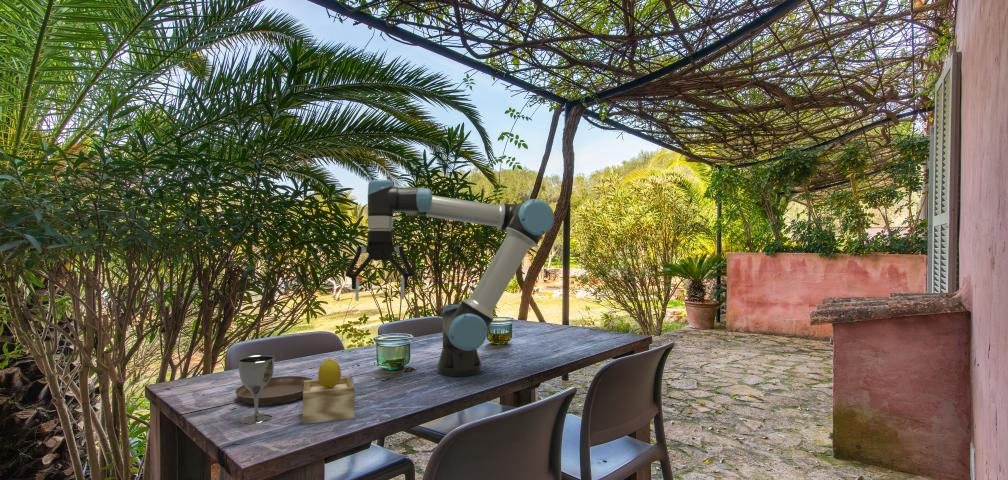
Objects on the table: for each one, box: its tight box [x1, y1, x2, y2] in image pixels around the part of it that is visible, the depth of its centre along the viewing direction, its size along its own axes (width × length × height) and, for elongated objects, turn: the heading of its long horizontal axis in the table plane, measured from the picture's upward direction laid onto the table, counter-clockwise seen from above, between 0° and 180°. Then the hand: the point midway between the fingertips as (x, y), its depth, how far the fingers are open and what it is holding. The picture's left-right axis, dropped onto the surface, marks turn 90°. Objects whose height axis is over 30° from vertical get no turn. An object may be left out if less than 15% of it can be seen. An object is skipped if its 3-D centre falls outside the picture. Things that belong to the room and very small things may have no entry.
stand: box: [302, 375, 356, 425], centre depth 127 cm, size 12×12×8 cm
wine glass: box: [238, 354, 275, 425], centre depth 123 cm, size 8×8×15 cm
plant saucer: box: [235, 375, 314, 406], centre depth 142 cm, size 21×21×3 cm
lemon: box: [317, 358, 342, 389], centre depth 127 cm, size 6×6×8 cm
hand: (380, 299), depth 151 cm, fingers open, 13 cm apart
